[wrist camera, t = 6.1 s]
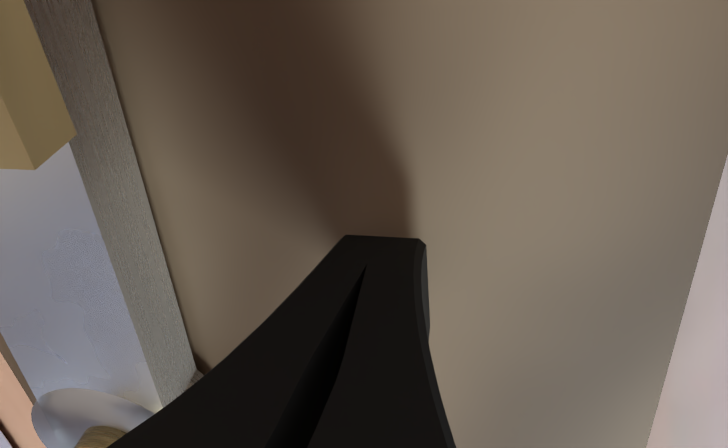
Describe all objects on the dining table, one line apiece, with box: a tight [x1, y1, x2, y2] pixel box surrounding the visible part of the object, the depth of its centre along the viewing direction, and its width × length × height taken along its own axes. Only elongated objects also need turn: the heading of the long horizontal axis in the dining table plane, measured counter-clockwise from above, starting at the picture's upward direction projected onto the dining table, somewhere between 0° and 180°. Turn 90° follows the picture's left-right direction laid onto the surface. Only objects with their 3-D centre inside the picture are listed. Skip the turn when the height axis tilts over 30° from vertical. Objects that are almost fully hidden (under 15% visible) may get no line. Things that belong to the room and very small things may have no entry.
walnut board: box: [0, 0, 728, 448], centre depth 10 cm, size 15×20×4 cm
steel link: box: [0, 0, 204, 448], centre depth 11 cm, size 13×4×2 cm, turn 2°
